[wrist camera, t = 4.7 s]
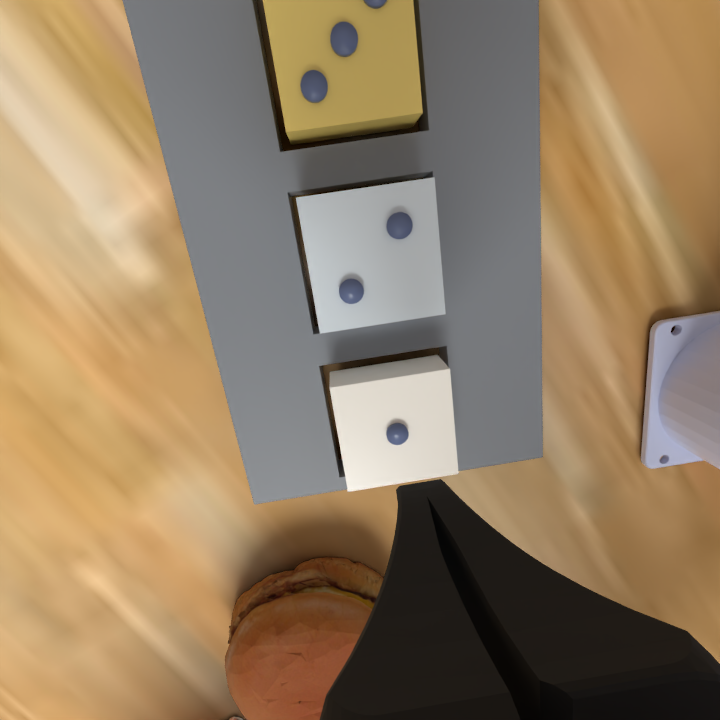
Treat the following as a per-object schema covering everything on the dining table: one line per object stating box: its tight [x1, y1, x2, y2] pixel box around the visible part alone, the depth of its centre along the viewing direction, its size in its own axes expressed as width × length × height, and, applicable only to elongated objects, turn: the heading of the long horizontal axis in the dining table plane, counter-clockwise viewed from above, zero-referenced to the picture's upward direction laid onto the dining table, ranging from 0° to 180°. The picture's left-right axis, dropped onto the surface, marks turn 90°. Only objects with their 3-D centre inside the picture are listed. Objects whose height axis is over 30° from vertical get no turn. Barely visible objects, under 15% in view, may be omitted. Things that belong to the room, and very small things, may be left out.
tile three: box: [263, 0, 423, 145], centre depth 14 cm, size 5×5×2 cm
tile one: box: [330, 355, 459, 492], centre depth 17 cm, size 5×5×2 cm
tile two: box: [296, 177, 446, 334], centre depth 15 cm, size 5×5×2 cm
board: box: [123, 0, 543, 504], centre depth 17 cm, size 14×21×2 cm, turn 8°
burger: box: [225, 557, 384, 720], centre depth 22 cm, size 10×9×5 cm
